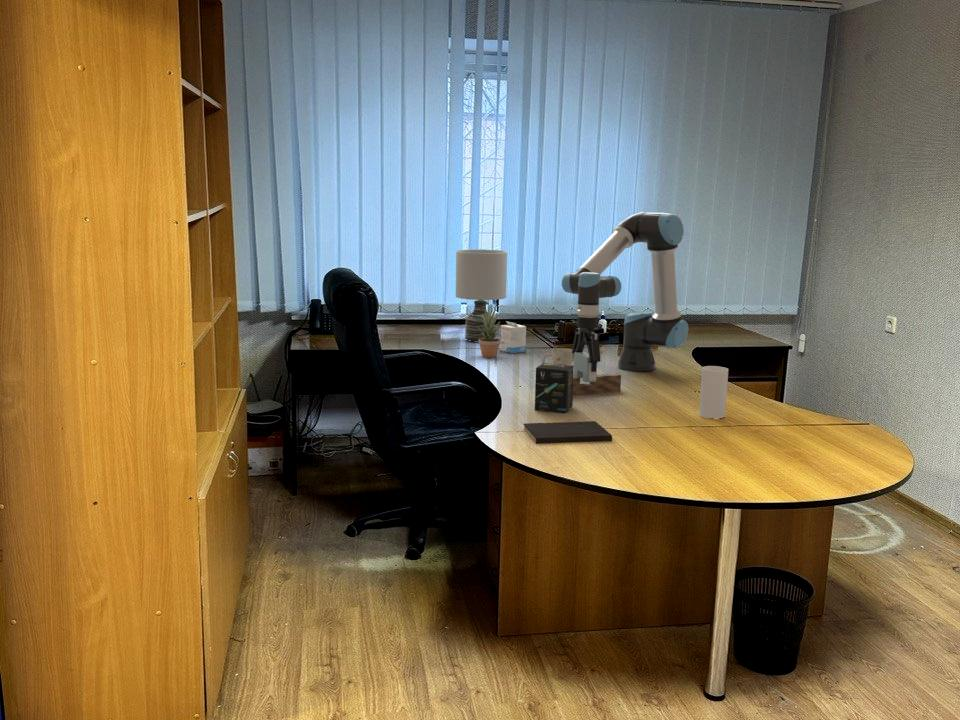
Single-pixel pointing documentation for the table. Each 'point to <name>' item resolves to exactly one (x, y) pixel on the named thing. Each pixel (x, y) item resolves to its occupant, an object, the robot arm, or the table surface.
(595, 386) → the walnut rail
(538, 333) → the table surface
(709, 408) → the cup
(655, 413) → the table surface
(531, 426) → the hardcover book
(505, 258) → the lamp
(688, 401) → the table surface
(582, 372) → the blue-grey notched block
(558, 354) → the mug
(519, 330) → the white box
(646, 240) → the robot arm
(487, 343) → the potted plant
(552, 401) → the tampon box
